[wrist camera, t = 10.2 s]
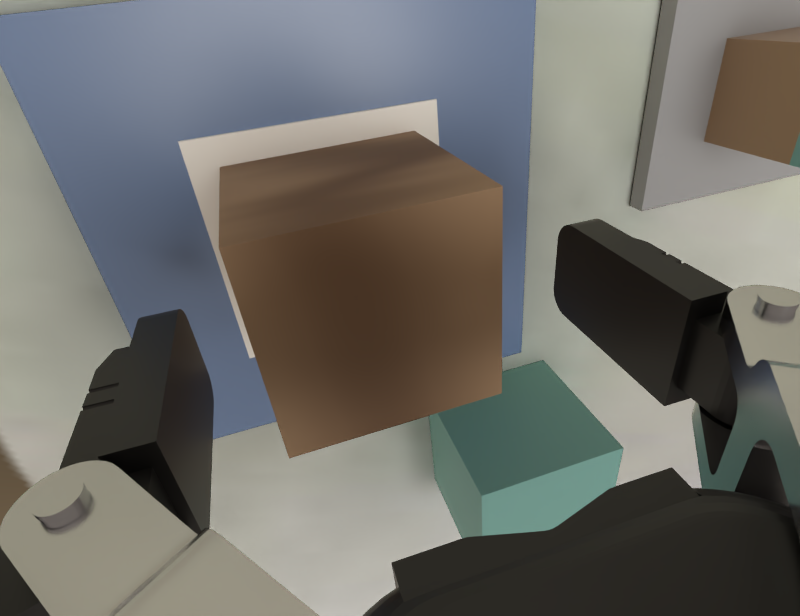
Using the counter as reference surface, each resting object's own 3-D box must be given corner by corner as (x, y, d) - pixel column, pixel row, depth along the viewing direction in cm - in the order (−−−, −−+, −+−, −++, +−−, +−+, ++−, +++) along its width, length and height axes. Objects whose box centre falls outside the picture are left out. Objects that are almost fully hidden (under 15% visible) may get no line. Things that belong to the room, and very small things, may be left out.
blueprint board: (521, -41, 13) (539, -45, 12) (510, 340, 19) (522, 353, 18) (-7, 17, 10) (-25, 17, 10) (185, 430, 17) (183, 449, 16)
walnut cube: (414, 130, 13) (503, 185, 9) (428, 293, 16) (501, 393, 12) (219, 166, 12) (218, 248, 8) (270, 333, 15) (289, 458, 11)
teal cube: (542, 358, 20) (623, 447, 16) (536, 444, 23) (604, 538, 19) (426, 392, 19) (481, 496, 15) (434, 477, 22) (482, 584, 18)
